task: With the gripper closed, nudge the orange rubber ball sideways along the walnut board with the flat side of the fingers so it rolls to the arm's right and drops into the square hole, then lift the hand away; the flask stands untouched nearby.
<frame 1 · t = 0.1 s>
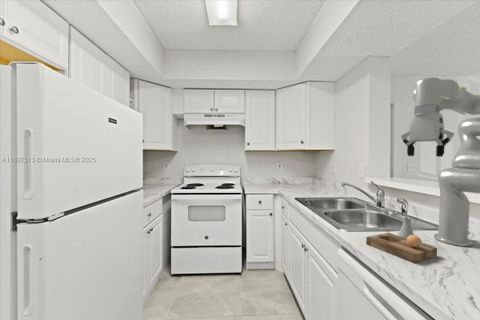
hand: (424, 156, 91), 37 cm above the worktop, tool pointing down, fingers open, 9 cm apart
flask: (406, 241, 101), on the worktop
ball: (414, 241, 87), point 5 cm above the worktop, touching board
board: (399, 249, 91), on the worktop
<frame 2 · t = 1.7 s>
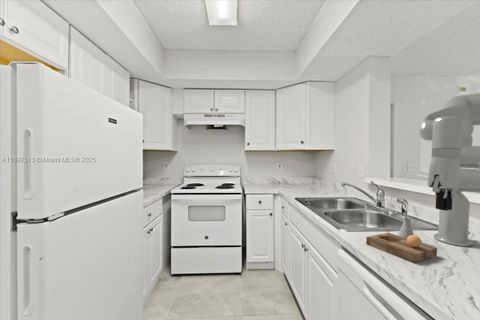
hand: (443, 208, 78), 19 cm above the worktop, tool pointing down, fingers closed
nothing on the worktop moved.
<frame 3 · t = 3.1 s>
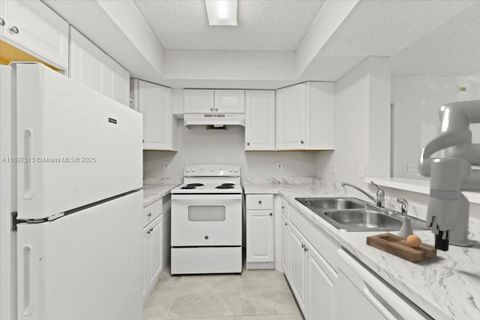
hand: (441, 249, 79), 5 cm above the worktop, tool pointing down, fingers closed
nothing on the worktop moved.
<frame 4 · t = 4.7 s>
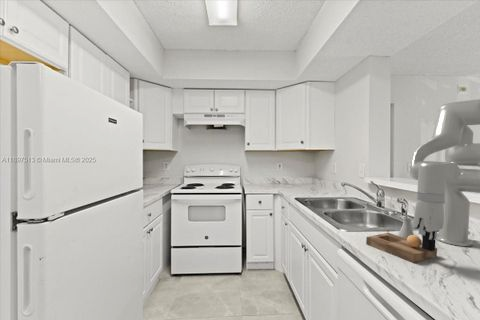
hand: (428, 249, 82), 4 cm above the worktop, tool pointing down, fingers closed
nothing on the worktop moved.
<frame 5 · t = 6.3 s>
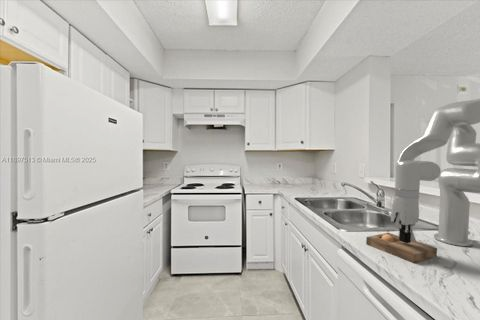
hand: (404, 241, 90), 4 cm above the worktop, tool pointing down, fingers closed
ball: (387, 240, 95), point 2 cm above the worktop, tilted 90°
everything else where it was.
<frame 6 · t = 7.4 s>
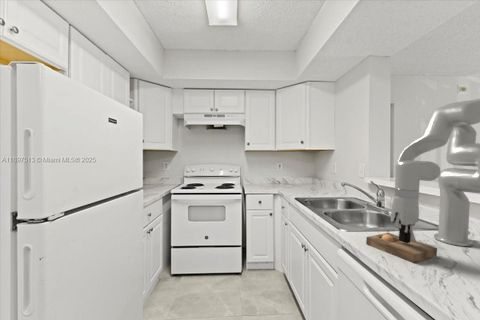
hand: (404, 241, 90), 4 cm above the worktop, tool pointing down, fingers closed
nothing on the worktop moved.
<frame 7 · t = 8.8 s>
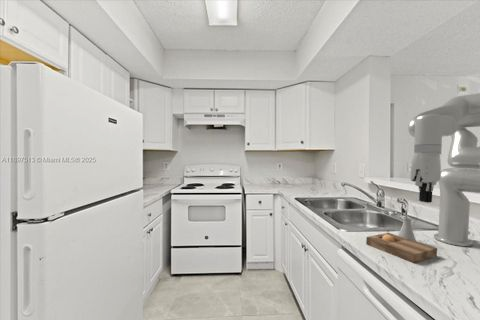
hand: (425, 201, 84), 20 cm above the worktop, tool pointing down, fingers closed
nothing on the worktop moved.
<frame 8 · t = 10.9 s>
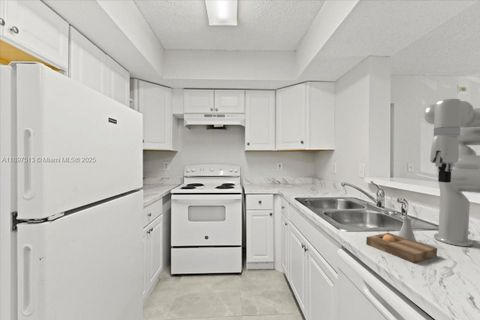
hand: (444, 181, 88), 27 cm above the worktop, tool pointing down, fingers closed
ball: (388, 240, 95), point 2 cm above the worktop, tilted 101°
everything else where it was.
at the end: ball 0.3 cm from the target spot on the board, point 2.2 cm above the board's base; ball point 2.2 cm above the worktop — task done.
